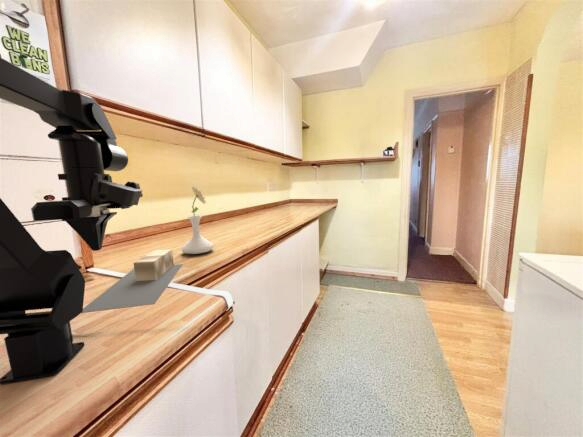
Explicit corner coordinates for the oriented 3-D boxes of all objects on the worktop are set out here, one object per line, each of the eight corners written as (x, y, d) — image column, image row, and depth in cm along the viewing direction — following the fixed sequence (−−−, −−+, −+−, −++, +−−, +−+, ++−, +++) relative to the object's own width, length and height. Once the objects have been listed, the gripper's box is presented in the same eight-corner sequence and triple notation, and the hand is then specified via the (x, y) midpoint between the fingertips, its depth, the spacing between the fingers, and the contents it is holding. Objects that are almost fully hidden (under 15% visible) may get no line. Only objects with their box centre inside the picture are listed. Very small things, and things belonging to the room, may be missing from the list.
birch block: (153, 261, 62) (172, 249, 74) (133, 262, 62) (155, 250, 74) (155, 279, 63) (173, 264, 75) (135, 281, 63) (157, 265, 74)
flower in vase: (212, 255, 86) (206, 185, 83) (178, 258, 84) (171, 186, 80) (215, 246, 99) (210, 185, 95) (185, 248, 96) (179, 186, 93)
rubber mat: (154, 306, 50) (154, 303, 50) (77, 315, 47) (77, 313, 47) (183, 265, 75) (183, 264, 75) (134, 270, 72) (133, 268, 72)
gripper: (106, 163, 37) (120, 261, 39) (150, 170, 55) (158, 236, 57) (19, 164, 35) (39, 268, 37) (94, 171, 53) (105, 240, 55)
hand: (97, 250), depth 46 cm, fingers closed
